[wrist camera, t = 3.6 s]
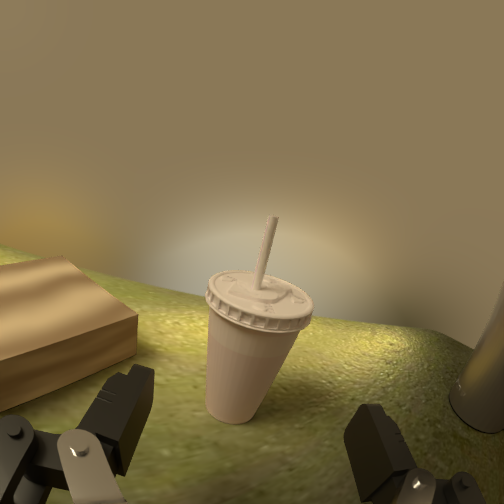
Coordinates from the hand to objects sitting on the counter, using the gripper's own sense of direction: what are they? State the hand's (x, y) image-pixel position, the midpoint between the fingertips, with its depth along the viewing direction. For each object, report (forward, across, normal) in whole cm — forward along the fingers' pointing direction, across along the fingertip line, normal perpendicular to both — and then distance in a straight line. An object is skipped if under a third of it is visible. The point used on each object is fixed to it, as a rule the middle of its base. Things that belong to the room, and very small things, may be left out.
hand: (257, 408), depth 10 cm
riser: (+8, +18, +8) cm, 21 cm away
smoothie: (+8, 0, +8) cm, 11 cm away
